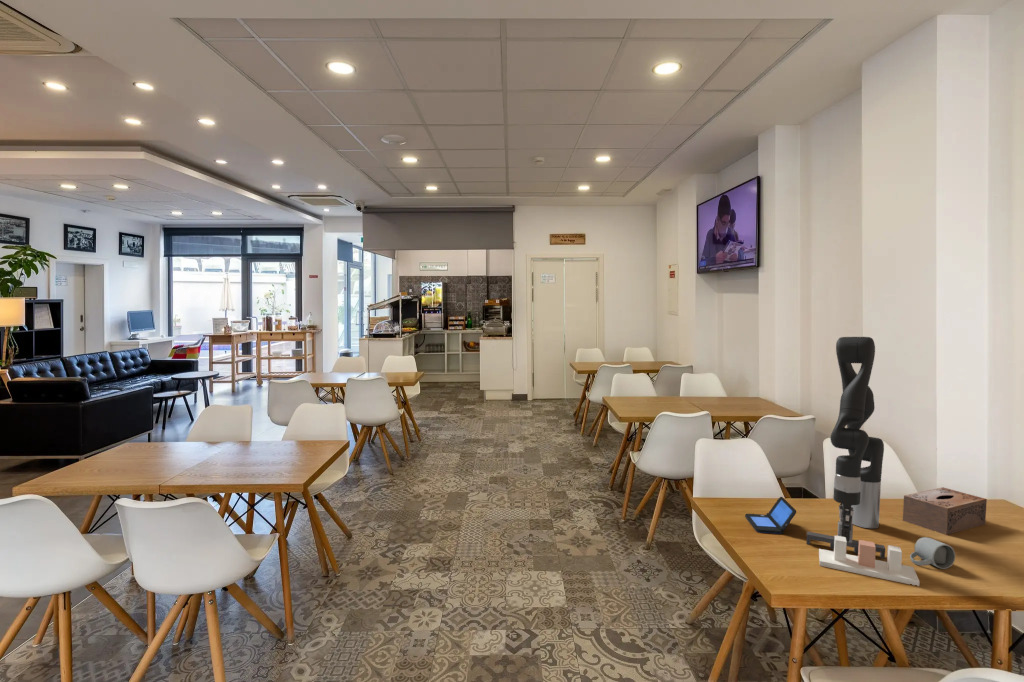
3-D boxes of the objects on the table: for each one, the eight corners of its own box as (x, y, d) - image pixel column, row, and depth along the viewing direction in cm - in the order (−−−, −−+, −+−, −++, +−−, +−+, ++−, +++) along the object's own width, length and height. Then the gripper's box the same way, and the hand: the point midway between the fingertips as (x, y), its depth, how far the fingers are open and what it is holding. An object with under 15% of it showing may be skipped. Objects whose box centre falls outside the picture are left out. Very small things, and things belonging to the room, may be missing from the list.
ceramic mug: (932, 556, 173) (932, 533, 173) (955, 568, 165) (956, 544, 165) (902, 558, 172) (903, 535, 172) (924, 570, 164) (925, 546, 163)
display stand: (818, 553, 175) (819, 529, 174) (912, 571, 163) (914, 546, 162) (819, 565, 166) (820, 540, 165) (919, 586, 154) (920, 559, 153)
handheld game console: (744, 516, 206) (744, 493, 205) (780, 519, 204) (781, 495, 204) (756, 533, 190) (757, 508, 190) (796, 536, 189) (797, 510, 188)
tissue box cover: (941, 511, 214) (942, 487, 214) (985, 524, 201) (986, 498, 201) (902, 521, 204) (903, 495, 203) (946, 535, 191) (947, 508, 190)
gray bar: (806, 541, 184) (807, 515, 183) (883, 555, 173) (884, 528, 173) (806, 544, 181) (807, 518, 181) (884, 559, 171) (886, 532, 170)
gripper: (832, 480, 184) (830, 528, 185) (835, 492, 172) (832, 544, 173) (858, 483, 180) (856, 533, 181) (862, 496, 168) (860, 549, 169)
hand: (844, 538), depth 177 cm, fingers open, 3 cm apart
